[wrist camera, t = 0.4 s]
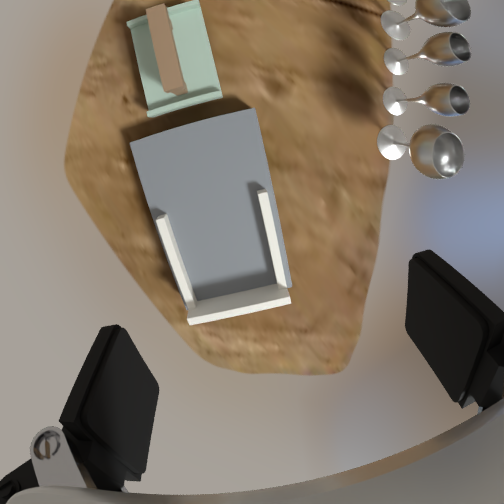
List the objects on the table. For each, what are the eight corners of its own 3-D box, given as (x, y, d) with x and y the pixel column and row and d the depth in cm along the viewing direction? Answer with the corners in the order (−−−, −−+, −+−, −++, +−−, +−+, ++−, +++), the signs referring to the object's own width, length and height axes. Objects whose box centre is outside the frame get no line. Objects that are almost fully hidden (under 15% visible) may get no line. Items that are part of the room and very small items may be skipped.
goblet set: (373, -26, 24) (422, -63, 12) (409, -13, 24) (464, -41, 12) (370, 160, 35) (430, 182, 23) (407, 166, 36) (471, 189, 24)
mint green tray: (136, 31, 26) (113, 10, 19) (201, 11, 26) (194, -17, 19) (156, 117, 31) (135, 116, 24) (223, 98, 31) (221, 90, 24)
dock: (137, 141, 32) (118, 145, 26) (252, 109, 32) (257, 105, 26) (189, 297, 41) (183, 326, 35) (288, 275, 41) (297, 301, 35)
